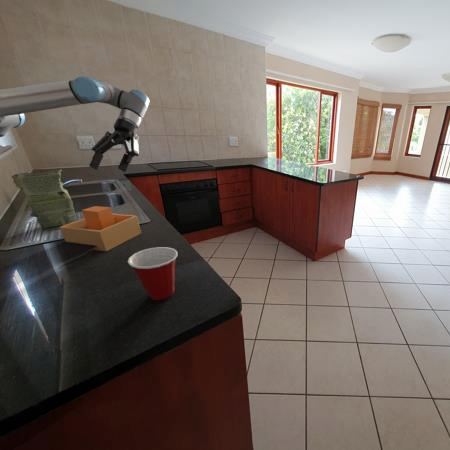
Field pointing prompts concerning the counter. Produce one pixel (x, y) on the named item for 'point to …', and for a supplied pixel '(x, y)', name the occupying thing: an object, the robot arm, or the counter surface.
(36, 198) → the pouch
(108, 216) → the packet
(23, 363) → the counter surface
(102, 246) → the open box
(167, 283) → the plastic cup
